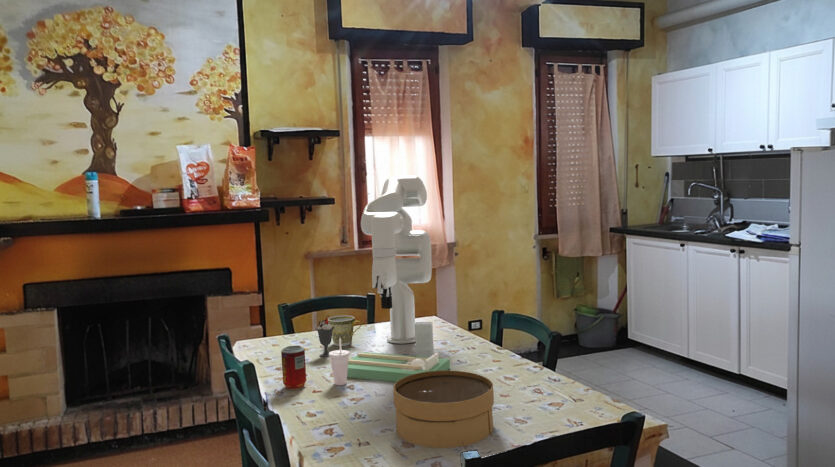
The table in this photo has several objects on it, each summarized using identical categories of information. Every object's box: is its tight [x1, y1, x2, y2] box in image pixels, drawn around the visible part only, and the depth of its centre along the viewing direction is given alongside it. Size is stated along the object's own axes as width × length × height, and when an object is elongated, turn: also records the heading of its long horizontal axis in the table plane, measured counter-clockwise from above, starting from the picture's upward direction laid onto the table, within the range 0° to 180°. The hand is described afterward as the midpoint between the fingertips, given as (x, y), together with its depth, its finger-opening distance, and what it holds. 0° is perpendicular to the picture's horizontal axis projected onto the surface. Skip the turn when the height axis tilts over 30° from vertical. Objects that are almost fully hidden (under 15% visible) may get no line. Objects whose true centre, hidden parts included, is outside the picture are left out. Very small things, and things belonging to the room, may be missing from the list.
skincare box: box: [414, 321, 435, 357], centre depth 223 cm, size 6×4×12 cm
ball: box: [410, 359, 425, 367], centre depth 204 cm, size 5×5×5 cm
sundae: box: [315, 314, 335, 358], centre depth 229 cm, size 7×7×15 cm
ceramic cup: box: [327, 315, 362, 347], centre depth 245 cm, size 13×10×10 cm
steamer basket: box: [392, 370, 495, 449], centre depth 159 cm, size 25×25×11 cm
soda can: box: [280, 345, 307, 391], centre depth 196 cm, size 7×7×12 cm
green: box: [347, 351, 451, 383], centre depth 207 cm, size 18×32×6 cm, turn 67°
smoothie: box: [328, 339, 351, 386], centre depth 197 cm, size 6×6×14 cm
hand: (386, 308), depth 211 cm, fingers closed
